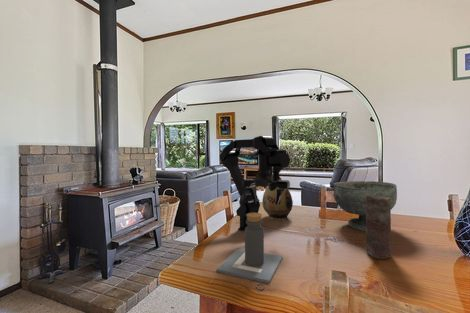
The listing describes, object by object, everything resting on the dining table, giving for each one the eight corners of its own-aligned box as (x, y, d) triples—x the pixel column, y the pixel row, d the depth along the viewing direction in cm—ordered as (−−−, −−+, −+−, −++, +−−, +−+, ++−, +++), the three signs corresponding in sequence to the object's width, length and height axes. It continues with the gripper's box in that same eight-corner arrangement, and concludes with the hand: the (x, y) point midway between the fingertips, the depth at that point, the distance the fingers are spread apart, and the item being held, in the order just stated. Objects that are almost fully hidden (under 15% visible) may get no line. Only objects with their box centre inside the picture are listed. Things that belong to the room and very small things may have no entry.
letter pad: (216, 271, 71) (216, 268, 71) (237, 250, 86) (237, 248, 86) (269, 283, 65) (269, 280, 65) (282, 258, 79) (282, 255, 79)
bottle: (267, 262, 75) (267, 214, 75) (254, 268, 71) (254, 218, 71) (254, 256, 79) (253, 210, 79) (241, 261, 76) (240, 214, 75)
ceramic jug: (274, 212, 136) (274, 159, 135) (298, 217, 125) (298, 159, 124) (254, 218, 125) (253, 160, 124) (278, 225, 113) (278, 161, 112)
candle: (360, 250, 85) (361, 193, 84) (380, 249, 86) (381, 193, 85) (375, 260, 77) (376, 198, 77) (396, 259, 78) (397, 197, 77)
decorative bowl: (408, 239, 93) (406, 187, 93) (336, 233, 101) (335, 186, 102) (388, 222, 118) (387, 181, 118) (332, 218, 126) (331, 180, 127)
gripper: (237, 167, 95) (237, 206, 96) (284, 168, 88) (284, 211, 88) (247, 165, 106) (247, 201, 106) (290, 166, 98) (290, 204, 99)
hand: (266, 204), depth 100 cm, fingers open, 9 cm apart
